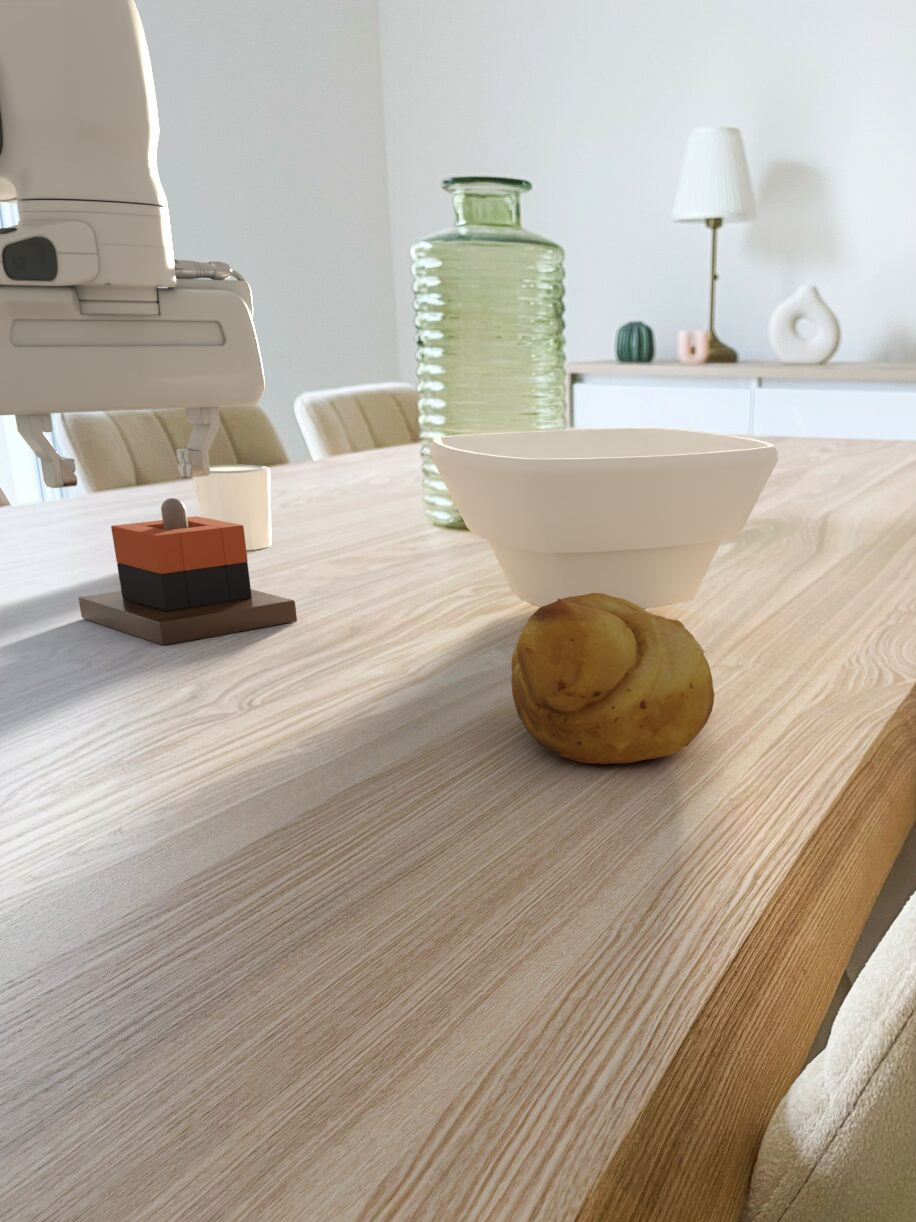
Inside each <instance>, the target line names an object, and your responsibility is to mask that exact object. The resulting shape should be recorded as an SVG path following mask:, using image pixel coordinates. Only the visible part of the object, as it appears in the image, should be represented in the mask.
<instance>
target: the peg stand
mask: <svg viewBox="0 0 916 1222" xmlns="http://www.w3.org/2000/svg"><path fill="white" fill-rule="evenodd" d="M160 511H161V513H160V514H161V520H163V527H164V530H167V531H168V530H174V529H182V528H188V521H187V517H188V515H187V514H188V513H187V508H186V506H185V504H184V503H183V502H182V501H181V500H180V499H178V498H175V497H171V498H170V497H169V498H167V499H165V500H164V501H163V502H162V504H161V506H160ZM251 595H252V598H249V599H243V600H237V601H229V602H225V603H218V604H212V605H206V606H200V607H194V608H187V609H181V610H175V611H169V612H166V611H163V610H160V609H156V608H153V607H150V606H146V605H143V604H139V603H136V602H133V601H129V600H126V599H123V598H122V592H121V590H118V591H112V592H111V591H110V592H106V593H97V594H92V595H84V596H79V597H78V605H79V611H80V615H81V619H84V620H86V621H90V622H92V623H95V624H99V625H102V626H105V627H108V628H111V629H114V630H117V631H119V632H122V633H125V634H129V635H132V636H135V637H138V638H141V639H144V640H147V641H149V642H153V643H156V644H158V645H162V646H168V645H173V644H178V643H179V644H180V643H184V642H185V643H186V642H191V641H197V640H200V639H207V638H212V637H217V636H223V635H229V634H234V633H241V632H246V631H251V630H257V629H262V628H267V627H268V628H269V627H273V626H279V625H283V624H284V625H285V624H290V623H296V622H297V621H298V617H297V616H298V615H297V607H296V601H295V600H294V599H292V598H287V597H283V596H279V595H275V594H272V593H268V592H263V591H259V590H255V589H251Z"/></svg>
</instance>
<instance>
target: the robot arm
mask: <svg viewBox="0 0 916 1222" xmlns="http://www.w3.org/2000/svg"><path fill="white" fill-rule="evenodd" d="M146 39H147V38H146V36H145V30H144V25H143V23H142V19H141V16H140V13H139V10H138V7H137V5H136V2H135V0H0V203H7V204H8V203H9V204H16V205H17V213H18V217H19V220H18V221H17V223H18V224H15V225H11V226H7V227H0V416H14V417H15V422H16V428H17V432H18V433H19V435H20V436H21V437H22V439H23V440H24V442H25V443H26V444H27V445H28V446H29V448H30V449H31V450H32V452H33V453H34V454H35V455H36V457H37V458H38V459H40V465H41V470H42V471H41V472H42V477H43V482H44V484H45V486H46V487H47V488H50V489H51V488H52V489H62V488H72V487H73V488H74V487H77V486H78V477H77V475H76V474H75V472H76V470H77V469H76V461H75V458H71V457H67V456H61V455H60V454H59V452H58V451H57V450H56V448H55V447H54V446H53V444H52V443H51V441H50V440H49V438H48V437H47V436H46V434H45V433H52V432H53V430H54V429H53V423H52V414H69V413H71V414H72V413H96V412H120V411H121V412H122V411H123V412H124V411H144V410H145V411H146V410H147V411H148V410H149V411H150V410H169V409H170V410H171V409H185V414H186V415H185V416H186V421H187V422H188V423H191V424H194V425H193V427H192V431H191V434H190V437H189V440H188V442H187V446H186V448H178V449H175V453H176V461H178V462H179V464H178V465H177V468H178V469H177V470H178V472H179V475H180V476H181V477H186V478H193V477H202V476H208V475H209V474H210V467H209V466H210V459H209V451H210V449H211V448H212V445H213V443H214V441H215V438H216V436H217V433H218V431H219V428H220V427H221V417H220V407H222V408H223V407H246V406H247V407H248V406H256V405H257V404H259V402H260V400H261V399H262V397H263V394H264V393H265V390H266V383H265V382H266V381H265V380H266V379H265V374H264V373H265V372H264V367H263V362H262V356H261V351H260V346H259V342H258V337H257V334H256V328H255V325H254V322H253V319H254V306H253V305H254V304H253V294H252V290H251V287H250V284H249V283H248V282H247V280H246V279H245V277H243V275H242V274H240V273H239V272H238V271H237V270H235V269H233V268H232V267H231V265H230V264H228V263H226V262H223V261H208V262H203V261H202V262H201V261H194V260H188V259H174V258H175V257H174V249H173V240H172V232H171V223H170V215H169V208H168V207H169V206H168V201H167V200H168V199H167V196H166V194H165V191H164V188H163V186H162V183H161V180H160V176H159V172H158V166H157V165H158V164H157V150H158V149H157V148H158V142H159V136H160V124H159V116H158V107H157V97H156V91H155V84H154V77H153V76H154V75H153V71H152V64H151V58H150V54H149V48H148V43H147V40H146ZM231 277H233V278H235V279H236V280H235V279H233V280H232V279H231ZM230 279H231V280H230Z"/></svg>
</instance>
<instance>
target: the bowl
mask: <svg viewBox="0 0 916 1222" xmlns="http://www.w3.org/2000/svg"><path fill="white" fill-rule="evenodd" d="M429 456H430V458H431V460H432V462H433V464H434V466H435V467H436V470H437V472H438V473H439V476H440V477H441V479H442V481H443V484H444V486H445V487H446V489H447V491H448V493H449V495H450V497H451V499H452V501H453V503H454V505H455V507H456V508H457V511H458V512H459V514H460V516H461V519H462V520H463V522H464V524H465V527H466V528H467V529H468V530H469V531H470V532H471V533H472V534H474V535H476V536H478V538H481V539H484V540H486V541H487V543H488V544H489V546H490V548H491V550H492V552H493V554H494V556H495V559H496V561H497V563H498V564H499V567H500V569H501V571H502V573H503V574H504V577H505V580H506V581H507V583H508V586H509V587H510V589H511V591H512V592H513V593H514V594H515V595H516V597H517V598H519V599H520V600H521V601H523V602H525V603H527V604H530V605H532V606H535V607H537V608H540V607H542V606H545V605H548V604H551V603H553V602H556V601H557V600H558V598H559V599H563V598H567V597H571V596H572V597H574V596H579V595H586V594H590V593H602V594H606V595H609V596H613V597H616V598H621V599H625V600H627V601H630V602H632V603H634V604H636V605H638V606H639V607H641V608H643V609H644V610H647V609H653V608H660V607H666V606H672V605H678V604H682V603H689V602H691V601H693V600H694V599H695V597H696V595H697V593H698V592H699V589H700V587H701V585H702V583H703V580H704V578H705V577H706V574H707V573H708V570H709V568H710V566H711V564H712V562H713V560H714V558H715V556H716V553H717V552H718V550H719V547H720V545H721V543H722V542H723V541H724V540H730V539H734V538H738V537H740V535H741V533H742V532H743V529H744V527H745V525H746V523H747V522H748V520H749V519H750V516H751V514H752V513H753V510H754V508H755V506H756V504H757V502H758V500H759V499H760V496H761V494H762V492H763V491H764V489H765V487H766V485H767V483H768V481H769V479H770V477H771V475H772V473H773V471H774V469H775V467H776V465H777V464H778V461H779V455H778V450H777V448H776V446H775V445H774V444H772V443H770V442H768V441H764V440H759V439H755V438H750V437H749V438H748V437H742V436H736V435H731V434H724V433H715V432H708V431H701V430H700V431H699V430H689V429H679V428H667V427H666V428H664V427H603V428H575V429H573V428H572V429H571V428H570V429H545V430H524V431H505V432H504V431H502V432H486V433H484V432H483V433H469V434H455V435H454V434H453V435H444V436H443V435H442V436H435V437H434V439H433V440H432V442H431V444H430V448H429Z"/></svg>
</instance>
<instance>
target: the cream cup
mask: <svg viewBox="0 0 916 1222" xmlns="http://www.w3.org/2000/svg"><path fill="white" fill-rule="evenodd" d="M209 467H210V474H209V475H208V476H202V477H192V482H193V485H194V491H195V494H196V499H197V503H198V507H199V512H200V517H203V518H208V519H214V520H219V521H224V522H229V523H234V524H239V525H243V527H244V535H245V543H246V551H256V550H261V549H266V548H269V547H271V546H272V507H271V505H272V504H271V499H272V498H271V468H270V467H269V466H265V465H257V464H242V463H241V464H216V465H215V464H214V465H209Z"/></svg>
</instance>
